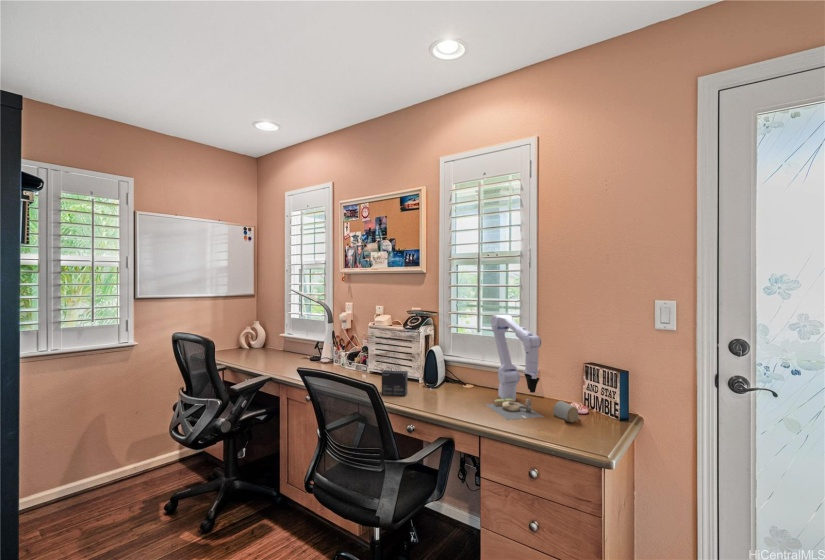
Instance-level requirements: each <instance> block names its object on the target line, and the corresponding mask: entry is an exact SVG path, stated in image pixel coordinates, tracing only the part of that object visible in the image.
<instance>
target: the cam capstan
mask: <svg viewBox="0 0 825 560" xmlns="http://www.w3.org/2000/svg"><path fill="white" fill-rule="evenodd" d="M517 402H518V401H515V402H510V401H507V402H503V403H502V408H503V409H504V410H508V411H519V410H520V408H523V409H526V411H528V412H531V409H532V398H526V399H525V406H523V405H524V404H523V405H520V404H519V403H520V402H519V403H517Z"/></svg>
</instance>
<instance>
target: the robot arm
mask: <svg viewBox="0 0 825 560" xmlns="http://www.w3.org/2000/svg"><path fill="white" fill-rule="evenodd" d="M490 325H491V330H492V332H493V336H494V339H495V344H496V349H497V353H498V358H499V362H500V367H498V369H497V380H498V382H499V384H498V391H497V392H498V397H499V399H514V400H515V401H517V385H518V383H519V382H520V381H521V375H520V372H519V371H518V367H517V366H516V365H514V364H513V363H512V360H511V355H510V351H509V346H508V343H507V339H506V332H508V331H509V329H510V330H511V331H512V332H513V333H514V334H515V337H517V338H518V339H519V340H520V341H521V342H522V345H523V347H524V352H525V368H524V369H525V370H522V373H523V374H524V378H525V379H526V386H527V389H528V390H529V393H531V394H532V393H534V394H535V393H536V389H537V385H538V383H539V381H540V377H538V375H539V373H540V372H539V348H540V347H541V345H542V339H541V337H540V336H539V335H537V334H533V333H532V332H530V331H529V329H527V327H525V326H519V324H518V323H517V322H516V321H515V320H514V318H513V316H512V315H510V314H493V315H492V316H491V319H490Z"/></svg>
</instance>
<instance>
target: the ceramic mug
mask: <svg viewBox="0 0 825 560" xmlns="http://www.w3.org/2000/svg"><path fill="white" fill-rule="evenodd" d="M553 416H555V417H557V418H560V419H562V420H565V422H567V423H570V424H571V423H575V422H576V421H577V420H579V419H580V415H579V410H578V408H577V407H576V406H574V405H572V404H570V403H567V402H565V401H563V400H558V401H557V402H555V404H554V406H553Z"/></svg>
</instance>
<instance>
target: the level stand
mask: <svg viewBox="0 0 825 560" xmlns="http://www.w3.org/2000/svg"><path fill="white" fill-rule="evenodd" d="M507 401H510V402H517V403H519V404H520V405H523V406H526V404H525V405H524V404H523V403H520V402H519V401H516V400H514V399H501V398H499V399H494V400H493V403H487V404H485V405H484V406H487V407H488V408H489V409H491V410H492V411H494V413H496V414H498V415H499V416H501V417H503V419H505V420H506V421H510V420H511V421H514V420H522V419H525V420H526V419H534V418H544V417H545V416H544V415H542V414H541V413H538V412H537V411H535V410H533V409H532V408H531V412H528V411H526V409H523V408H520V410H519V411H508V410H504V409H503V408H502V403H503V402H507Z"/></svg>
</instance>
